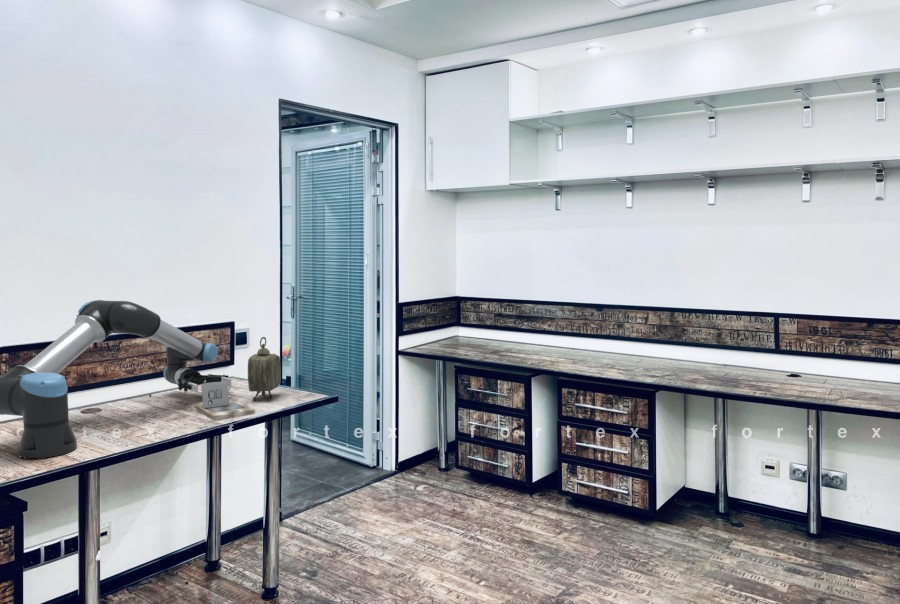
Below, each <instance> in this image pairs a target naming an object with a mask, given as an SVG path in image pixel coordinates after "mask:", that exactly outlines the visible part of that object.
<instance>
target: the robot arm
mask: <svg viewBox="0 0 900 604" xmlns="http://www.w3.org/2000/svg"><path fill="white" fill-rule="evenodd" d="M112 334H118V335H119V334H126V335H134V336H135V335H136V336H140V337H141V338H144V339H145V338H146V339H147V338H149V339H152V340H154V341H156V342H158V343H161V345H162V344H163V345H165V347H166V348H165V350H166V353H165V354H166V364H167V365H166V367H165V369H164V370H163V378H164V380H166V382H168V383H170V384H173V385H177V386H178V390H179V391H182V390H183V391H184V392H188V391H191V392H194V393H198V392H199V389H198V388H199V386H200V385H202V384H203V383H212V382H222V381H226V382H227V383H228V387H231V386H232V378H230V377H229V375H228V374H223V375H222V374H211V373H208V374H201V373H200V371H198V370H196V369H193V368H188V367H187V365H188V362H202V363H203V362H204V363H212V362H214V361H215V360H216V359H217V357H218V353H219V350H218V347H217V345H215V344H214V343H210V342H207V343H206V342H203V341H202V340H199V339H197V338H196V337H194V336H192V335H190V334H188V333H186V332H184V331H183V330H181V329H180V328H178V327H175V326H174V325H172V324H170V323H168V322H166V321H164V320H162V319H161V316H160V315H159V314H158V313H156V312H154V311H152V310H149V309H148V308H147V307H145V306H142V305H140V304H138V303H135V302H132V301H127V300H103V299H96V300H90V301H87V302H85V303H84V304H83V305H81V306H80V308H79V309H78V311H77V314H76V318H75V320H74V325H73V326H72V327H70V328H69V329H68V330H67V331H65V332H64V333H62V335H60V336H59V337H58V338H57V339H55V340H54V341H53V342H51V344H49V345H48V346H47V347H45V348H44V349H43V350H42V351H40V353H38V354H37V355H35V356H34V357H33V358H32V359H30V360H29V361H28V362H27V363H26V364H24V365H23V364H22V365H21V364H18V365H15V366H14V367H12V368H11V369H10V370H9V371H7V372H6V373H5V374H0V415H1V416H2V415H4V416H5V415H6V416H20V417H22V421H23V431H22V434H21V438H20V442H19V444H18V446H17V447H18V448H17V449H18V450H17V452H18V457H19V456H21V457H25V458H40V459H46V458H45V457H48V458H53V457H52V456H54V457H57V456H58V455H59V456H62V455H65V453H66V454H68V452H69V453H71V452H73V451H75V450H76V449H77V448H78V442H77V441H78V440H77V438H76V435H75V434H74V431H73V429H72V427H71V425H70V421H69V420H70V419H69V418H70V417H69V397H68V395H69V394H68V385H67V380H66V378H65V376H63V375H62V374H60V373H61V372H62V371H63V370H64V369H65V368H67V366H69V365H70V364H71V363H72V362H73V361H75V359H77V358H78V357H79V356H80V355H81V354H83V353H84V352H85V351H86V350H87V349H89V348H90V347H91V346H92V345H93V344H94V343H102V342H104V341H105V340H106V339H107V338H108V337H109V336H110V335H112ZM59 456H58V457H59ZM21 457H20V458H21ZM25 458H24V459H25Z"/></svg>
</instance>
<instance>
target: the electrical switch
mask: <svg viewBox="0 0 900 604" xmlns="http://www.w3.org/2000/svg"><path fill="white" fill-rule="evenodd" d="M200 388H201V389H200V390H201V394H202V395H201V396H202V397H201V398H202V404H203V408H213V407H222V406H228V405H229V400H230V397H229V396H230V395H229V386H228V383H227V382H226V381H222V382H212V383H203V384H201V386H200ZM210 402H211V404H209V403H210Z"/></svg>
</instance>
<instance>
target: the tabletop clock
mask: <svg viewBox="0 0 900 604" xmlns="http://www.w3.org/2000/svg"><path fill="white" fill-rule="evenodd" d="M263 340H264V343H262V341H263ZM259 346H260V348H259V349H258V350H257V353H255V354H253V355H251V356H249V358H248V359H247V382H248V383H247V384H248V390H249V392H256V393H255V396H253V397H252V401H253V402H257V400H258V396H259V394H260V393H261V395H263V396H265V395H266V392H268V394H269V395H268V398H269V399H273V397H274V396H273V394H271V391H274V390H275V389H276V388H278V387H279V386H280V385H281V382H282V381H281V379H282V376H281V375H282V371H281V370H282V369H281V368H282V367H281V357H280V356H279V355H277V354H276V353H271V352H270V350H269V349H268V348H267V347H266V346H267V338H266V337H265V336H262V337H261V338H260V341H259Z"/></svg>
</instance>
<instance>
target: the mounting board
mask: <svg viewBox="0 0 900 604" xmlns="http://www.w3.org/2000/svg"><path fill="white" fill-rule="evenodd" d="M209 404H211V401H209ZM194 407H195V408H196V409H195V410H197V411H198V410H199V411H198V412H200V413H201V412H202V413H201V414H203V413H204V414H203V415H205V416H206V415H207V416H206V417H208V418H209V417H210V418H209V419H211V420H212V421H219V420H218V419H220V420H225V419H224V418H226V419H231V417H232V418H236V417H235V416H238V417H242V416H241V415H244V416H247V415H246V414H250V415H254V414H253V413H255V414H256V409H255V408H253V407H251V406H249V405H247V404H246V403H243V402H242V401H239V400H238V399H235V398H233V399H232V398H231V399H230V398H229V405H228V406H222V407H213V408H203V403H198V404H194Z"/></svg>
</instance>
